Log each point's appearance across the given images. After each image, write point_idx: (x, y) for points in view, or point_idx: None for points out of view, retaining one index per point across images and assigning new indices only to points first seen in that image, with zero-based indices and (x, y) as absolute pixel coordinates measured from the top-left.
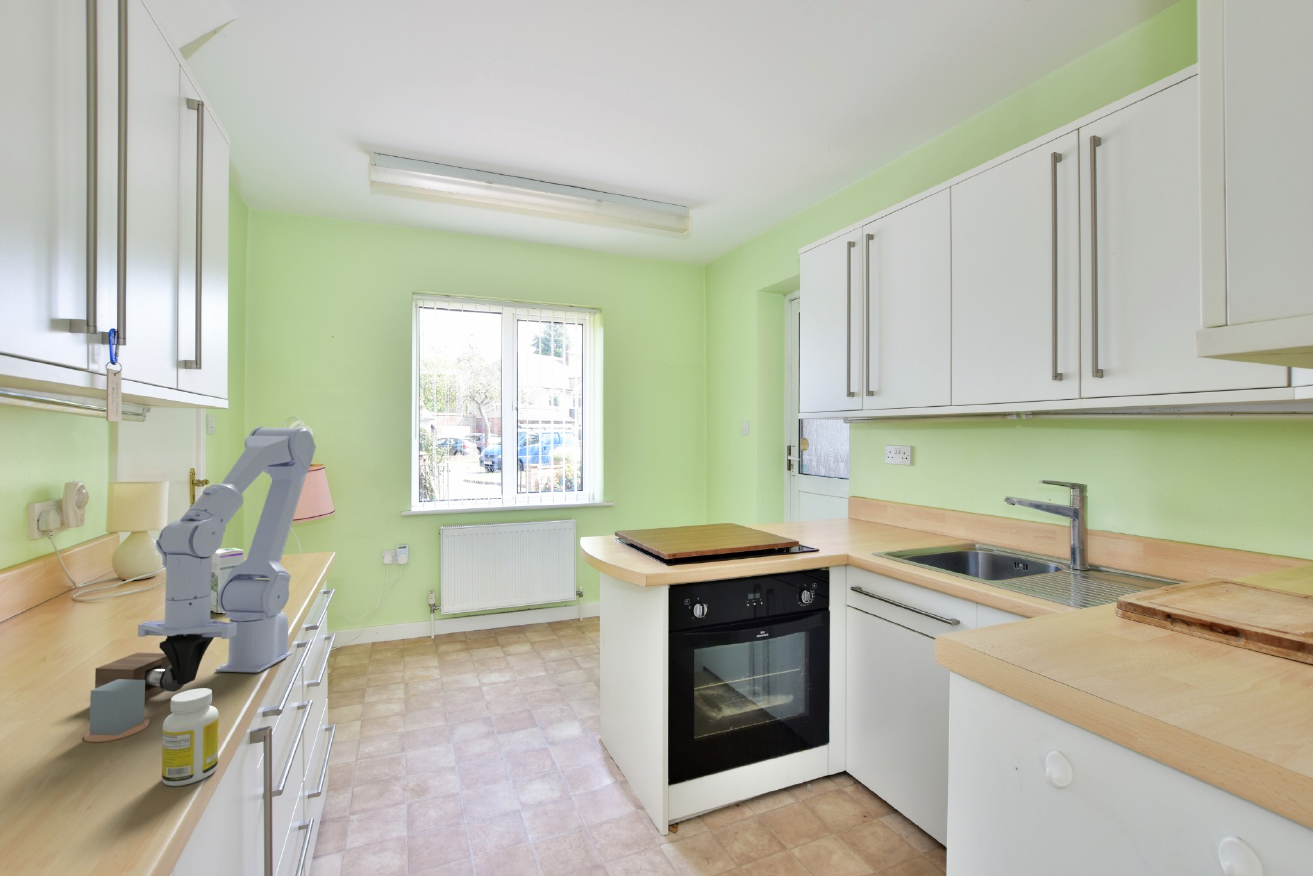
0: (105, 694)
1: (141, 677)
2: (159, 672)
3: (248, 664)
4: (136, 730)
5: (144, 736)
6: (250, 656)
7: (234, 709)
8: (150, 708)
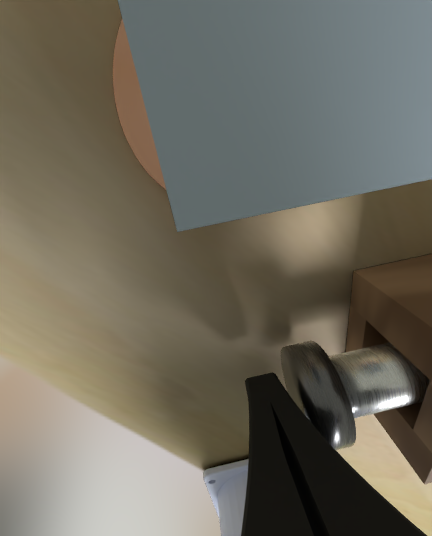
0: None
1: (414, 351)
2: (373, 394)
3: (240, 485)
4: (121, 102)
5: (48, 81)
6: (241, 514)
7: (10, 345)
8: (281, 274)
